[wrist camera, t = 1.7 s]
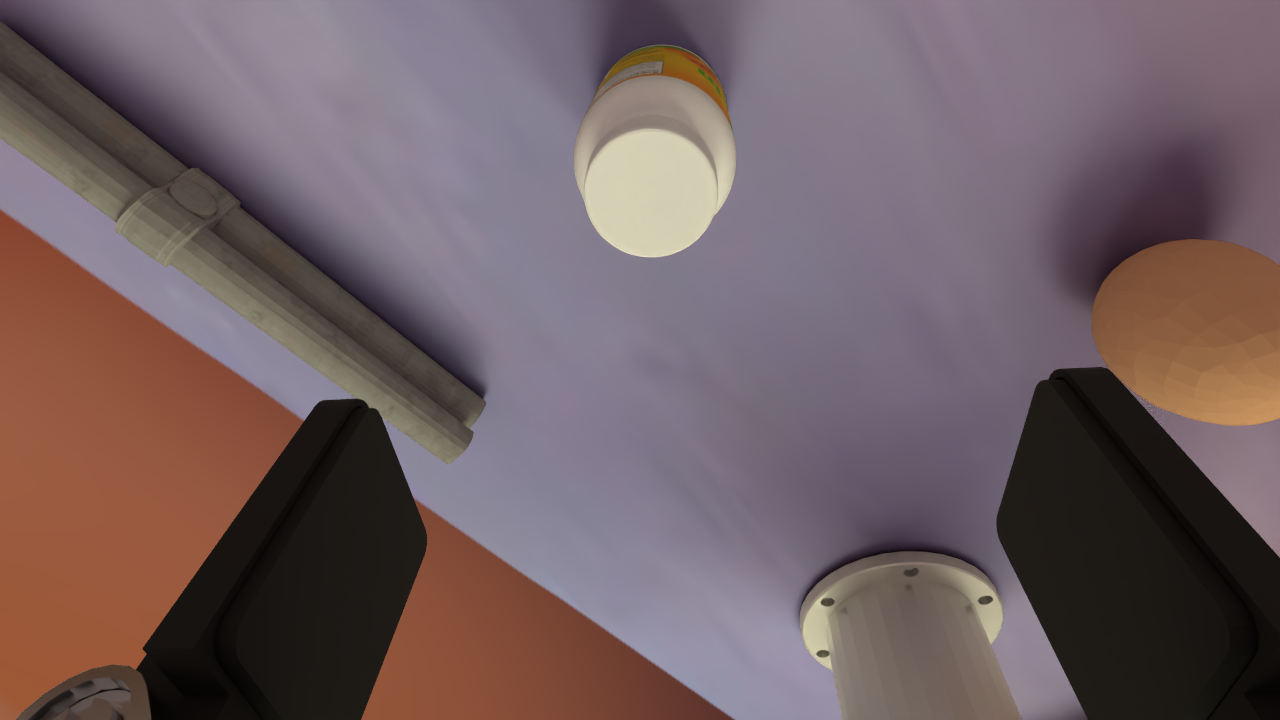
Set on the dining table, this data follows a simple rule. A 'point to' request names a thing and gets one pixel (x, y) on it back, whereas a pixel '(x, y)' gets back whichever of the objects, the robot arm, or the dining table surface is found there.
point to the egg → (1195, 330)
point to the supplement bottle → (655, 151)
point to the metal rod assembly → (225, 249)
